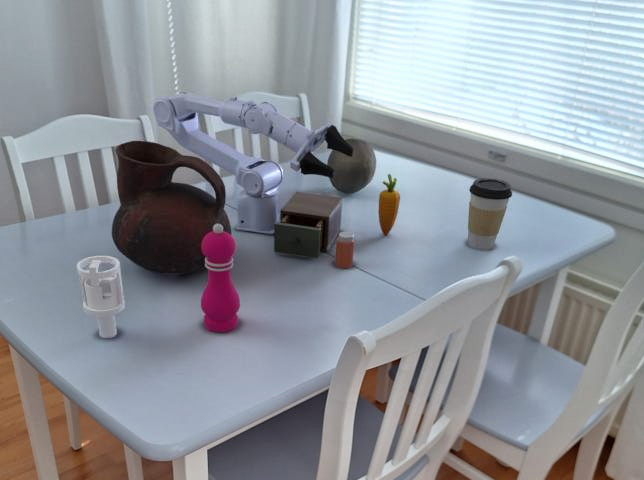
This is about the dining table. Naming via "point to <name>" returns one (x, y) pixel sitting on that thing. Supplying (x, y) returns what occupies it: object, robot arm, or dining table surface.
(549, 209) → the dining table surface
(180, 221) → the jug
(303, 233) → the drawer
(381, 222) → the carrot
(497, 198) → the coffee cup
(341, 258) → the orange jar
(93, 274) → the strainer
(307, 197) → the cabinet
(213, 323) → the pepper mill
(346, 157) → the cantaloupe
